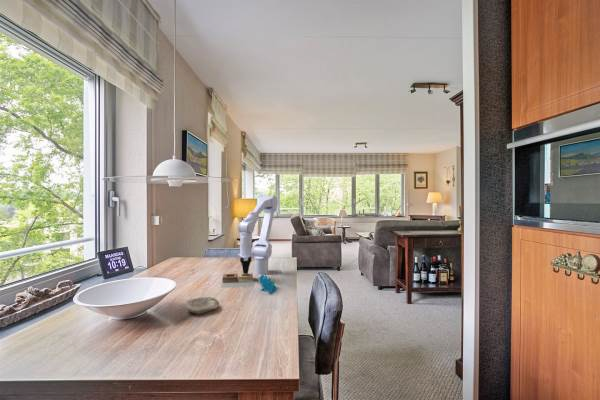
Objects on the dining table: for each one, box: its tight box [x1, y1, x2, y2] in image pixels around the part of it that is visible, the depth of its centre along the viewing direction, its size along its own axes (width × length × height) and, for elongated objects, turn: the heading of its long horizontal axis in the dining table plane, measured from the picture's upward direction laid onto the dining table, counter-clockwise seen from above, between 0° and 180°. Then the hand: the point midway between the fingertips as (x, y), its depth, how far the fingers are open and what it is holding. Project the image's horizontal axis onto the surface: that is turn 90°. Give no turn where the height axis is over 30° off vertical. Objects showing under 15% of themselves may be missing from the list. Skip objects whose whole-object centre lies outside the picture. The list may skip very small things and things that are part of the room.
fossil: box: [185, 296, 220, 315], centre depth 112 cm, size 11×12×3 cm
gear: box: [258, 274, 278, 295], centre depth 134 cm, size 11×6×10 cm
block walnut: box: [222, 273, 239, 283], centre depth 149 cm, size 7×7×2 cm
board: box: [221, 276, 255, 288], centre depth 147 cm, size 16×15×1 cm
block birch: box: [238, 272, 254, 282], centre depth 150 cm, size 7×7×2 cm
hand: (245, 272), depth 150 cm, fingers closed on pin, 2 cm apart
